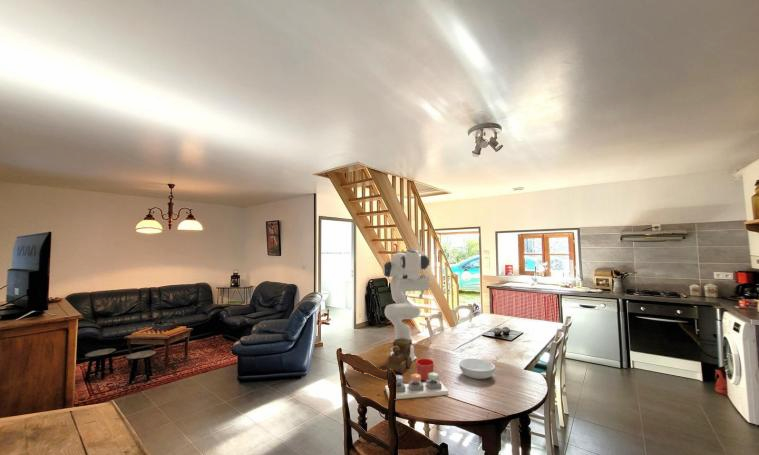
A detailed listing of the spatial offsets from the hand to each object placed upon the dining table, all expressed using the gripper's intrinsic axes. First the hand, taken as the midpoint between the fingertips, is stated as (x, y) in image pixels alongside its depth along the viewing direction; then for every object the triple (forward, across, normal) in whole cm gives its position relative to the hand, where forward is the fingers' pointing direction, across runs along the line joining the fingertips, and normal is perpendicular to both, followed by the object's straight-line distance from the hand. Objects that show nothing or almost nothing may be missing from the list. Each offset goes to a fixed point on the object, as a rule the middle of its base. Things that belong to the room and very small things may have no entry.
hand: (413, 298), depth 187 cm
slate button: (+43, +15, +17) cm, 49 cm away
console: (+48, +5, +18) cm, 51 cm away
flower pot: (+48, -6, +2) cm, 48 cm away
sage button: (+44, -5, +18) cm, 47 cm away
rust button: (+44, +5, +18) cm, 47 cm away
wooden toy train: (+48, +6, -16) cm, 50 cm away
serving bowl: (+48, -38, +5) cm, 61 cm away
